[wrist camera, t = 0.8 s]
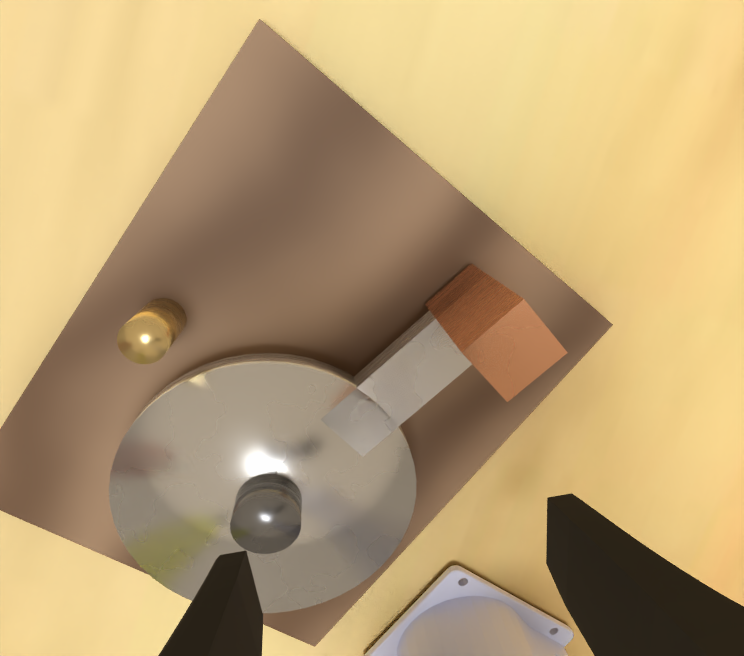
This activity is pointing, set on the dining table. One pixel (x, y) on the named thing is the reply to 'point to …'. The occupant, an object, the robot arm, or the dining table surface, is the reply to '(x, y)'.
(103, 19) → the dining table surface
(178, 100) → the dining table surface
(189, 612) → the robot arm
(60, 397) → the board
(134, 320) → the dowel
